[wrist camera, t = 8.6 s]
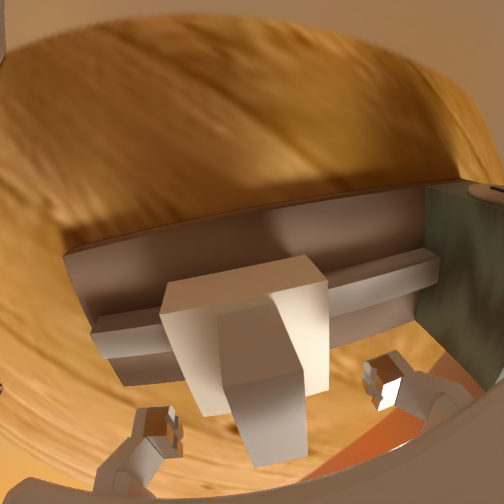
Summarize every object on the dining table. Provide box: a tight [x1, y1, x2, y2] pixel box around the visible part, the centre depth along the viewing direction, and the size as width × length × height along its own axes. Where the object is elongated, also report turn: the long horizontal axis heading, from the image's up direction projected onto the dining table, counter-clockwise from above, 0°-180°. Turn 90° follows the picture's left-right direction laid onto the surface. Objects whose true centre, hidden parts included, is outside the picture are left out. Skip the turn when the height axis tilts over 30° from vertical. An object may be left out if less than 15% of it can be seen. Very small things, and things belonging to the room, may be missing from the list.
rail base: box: [62, 178, 504, 392], centre depth 13 cm, size 12×30×12 cm, turn 99°
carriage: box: [159, 255, 329, 468], centre depth 13 cm, size 7×7×9 cm
